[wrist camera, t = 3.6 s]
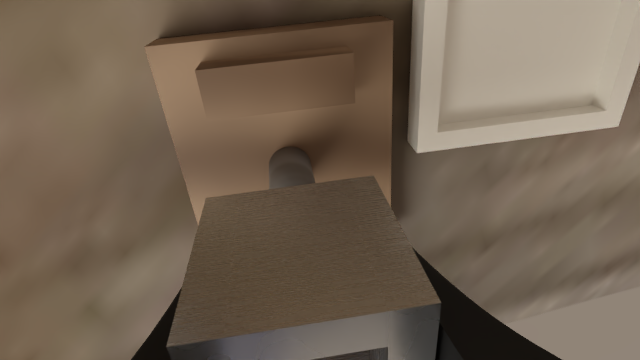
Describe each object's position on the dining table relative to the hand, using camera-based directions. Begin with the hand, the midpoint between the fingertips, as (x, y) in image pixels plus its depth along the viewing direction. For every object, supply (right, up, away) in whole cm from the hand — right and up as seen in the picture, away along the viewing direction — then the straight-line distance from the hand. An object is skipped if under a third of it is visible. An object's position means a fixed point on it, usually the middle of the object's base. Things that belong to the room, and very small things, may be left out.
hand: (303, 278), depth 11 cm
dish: (+10, +11, +7) cm, 16 cm away
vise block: (-1, +5, +8) cm, 10 cm away
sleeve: (0, +1, +1) cm, 1 cm away
